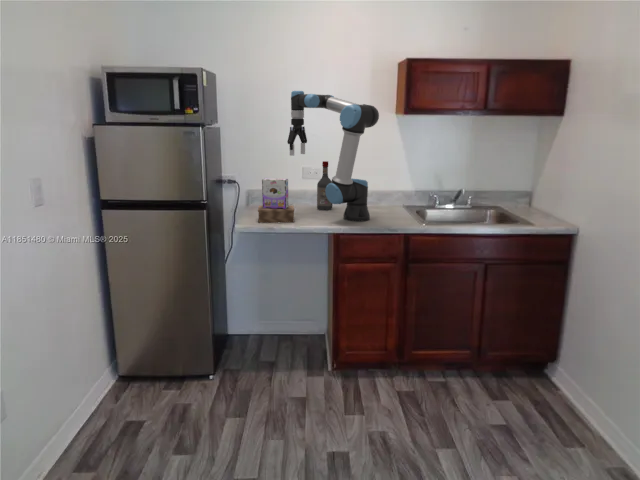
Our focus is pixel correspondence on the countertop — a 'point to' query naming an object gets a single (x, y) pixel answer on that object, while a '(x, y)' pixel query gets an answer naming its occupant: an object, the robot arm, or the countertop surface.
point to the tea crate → (276, 215)
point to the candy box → (275, 193)
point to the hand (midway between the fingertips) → (297, 154)
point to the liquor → (323, 189)
